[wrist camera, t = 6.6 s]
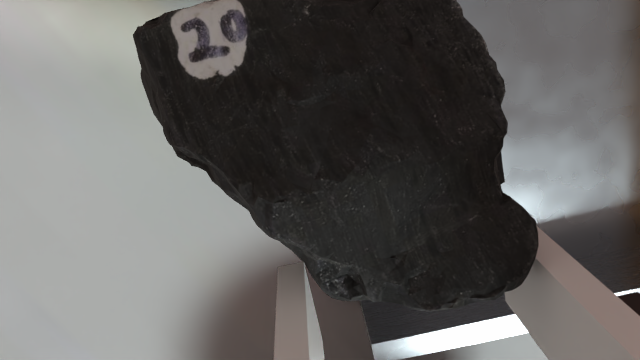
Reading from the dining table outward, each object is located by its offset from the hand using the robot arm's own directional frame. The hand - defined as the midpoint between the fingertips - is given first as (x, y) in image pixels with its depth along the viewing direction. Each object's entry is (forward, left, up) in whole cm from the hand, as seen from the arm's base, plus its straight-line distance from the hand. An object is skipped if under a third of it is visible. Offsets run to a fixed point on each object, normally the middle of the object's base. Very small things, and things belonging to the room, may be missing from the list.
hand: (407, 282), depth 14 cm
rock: (+1, 0, -3) cm, 3 cm away
